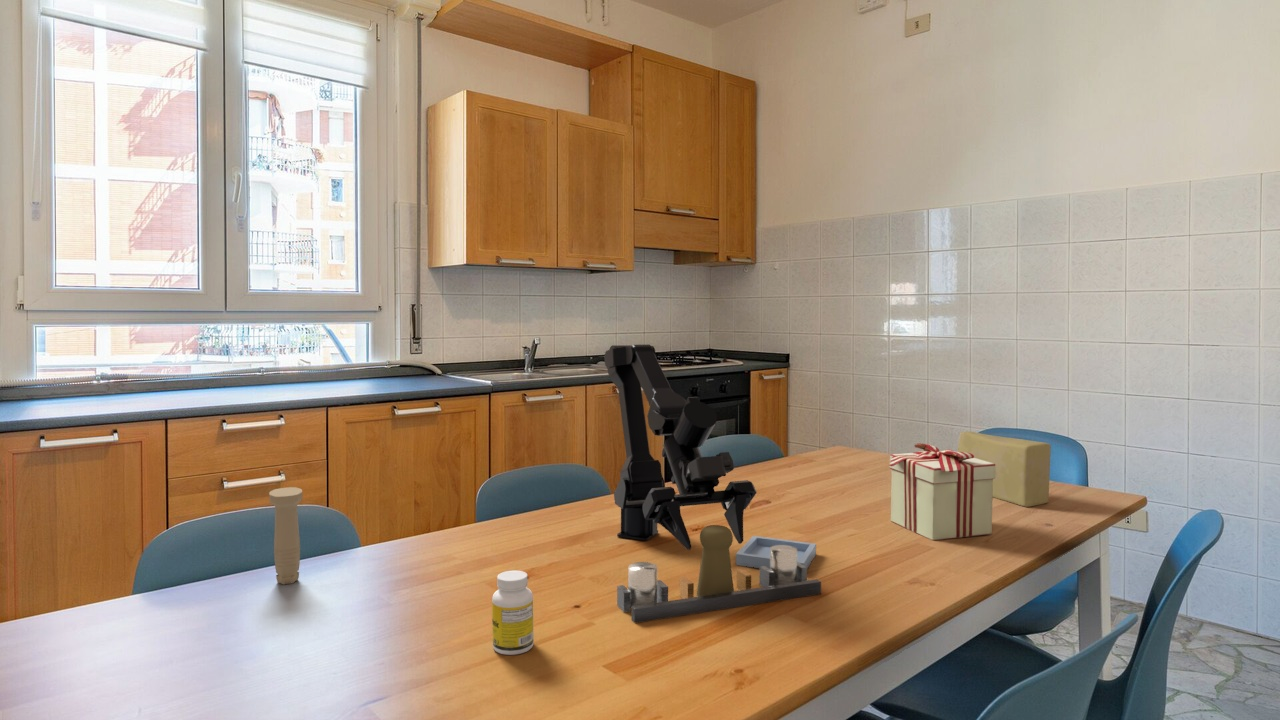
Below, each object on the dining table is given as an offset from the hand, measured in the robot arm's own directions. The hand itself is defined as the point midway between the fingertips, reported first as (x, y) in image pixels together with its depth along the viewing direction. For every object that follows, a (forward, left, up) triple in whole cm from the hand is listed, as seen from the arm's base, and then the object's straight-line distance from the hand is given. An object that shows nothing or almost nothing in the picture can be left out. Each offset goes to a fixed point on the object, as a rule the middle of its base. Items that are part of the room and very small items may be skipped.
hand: (715, 545), depth 118 cm
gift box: (+31, +54, -8) cm, 63 cm away
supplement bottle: (-19, -29, -8) cm, 36 cm away
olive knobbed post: (0, 0, -8) cm, 8 cm away
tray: (+5, +21, -8) cm, 23 cm away
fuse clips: (+1, -1, -8) cm, 8 cm away
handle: (-66, -24, -8) cm, 71 cm away
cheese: (+44, +92, -8) cm, 102 cm away
